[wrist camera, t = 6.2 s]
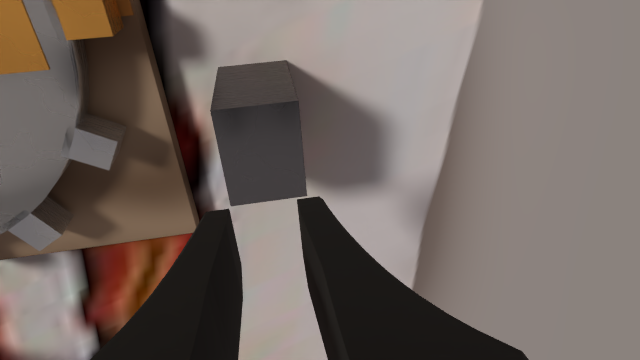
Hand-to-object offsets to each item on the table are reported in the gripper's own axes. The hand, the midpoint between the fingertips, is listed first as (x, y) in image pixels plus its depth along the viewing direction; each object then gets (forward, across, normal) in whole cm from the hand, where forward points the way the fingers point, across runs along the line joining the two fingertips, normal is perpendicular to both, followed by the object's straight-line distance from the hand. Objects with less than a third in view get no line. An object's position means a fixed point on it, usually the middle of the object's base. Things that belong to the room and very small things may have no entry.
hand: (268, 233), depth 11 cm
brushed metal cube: (+10, 0, 0) cm, 10 cm away
